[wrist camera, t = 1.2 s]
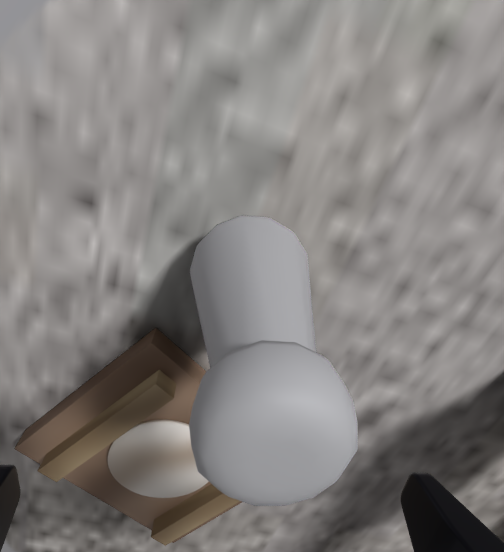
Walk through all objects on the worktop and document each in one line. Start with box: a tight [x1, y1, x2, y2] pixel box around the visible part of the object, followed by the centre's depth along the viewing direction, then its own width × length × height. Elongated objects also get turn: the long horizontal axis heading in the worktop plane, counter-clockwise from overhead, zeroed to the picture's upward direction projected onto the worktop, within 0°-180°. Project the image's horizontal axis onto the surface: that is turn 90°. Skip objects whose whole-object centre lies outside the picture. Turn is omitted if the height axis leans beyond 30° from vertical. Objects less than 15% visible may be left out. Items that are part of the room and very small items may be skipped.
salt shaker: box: [189, 215, 358, 506], centre depth 14 cm, size 6×6×13 cm
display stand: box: [14, 328, 242, 545], centre depth 25 cm, size 14×12×3 cm
